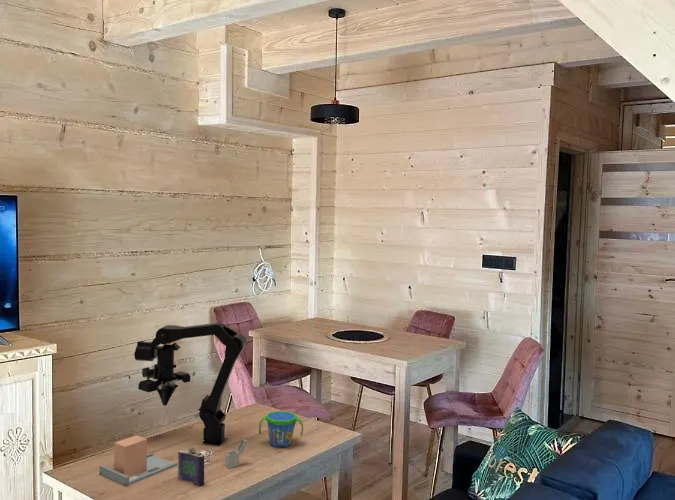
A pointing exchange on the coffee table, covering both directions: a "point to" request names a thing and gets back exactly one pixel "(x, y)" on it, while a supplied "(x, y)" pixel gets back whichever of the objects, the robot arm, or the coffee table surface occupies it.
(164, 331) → the robot arm
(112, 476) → the slate lane
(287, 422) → the snack cup
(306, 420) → the coffee table surface
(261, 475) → the coffee table surface
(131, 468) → the terracotta block
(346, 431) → the coffee table surface
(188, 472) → the flask
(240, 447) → the lighter
